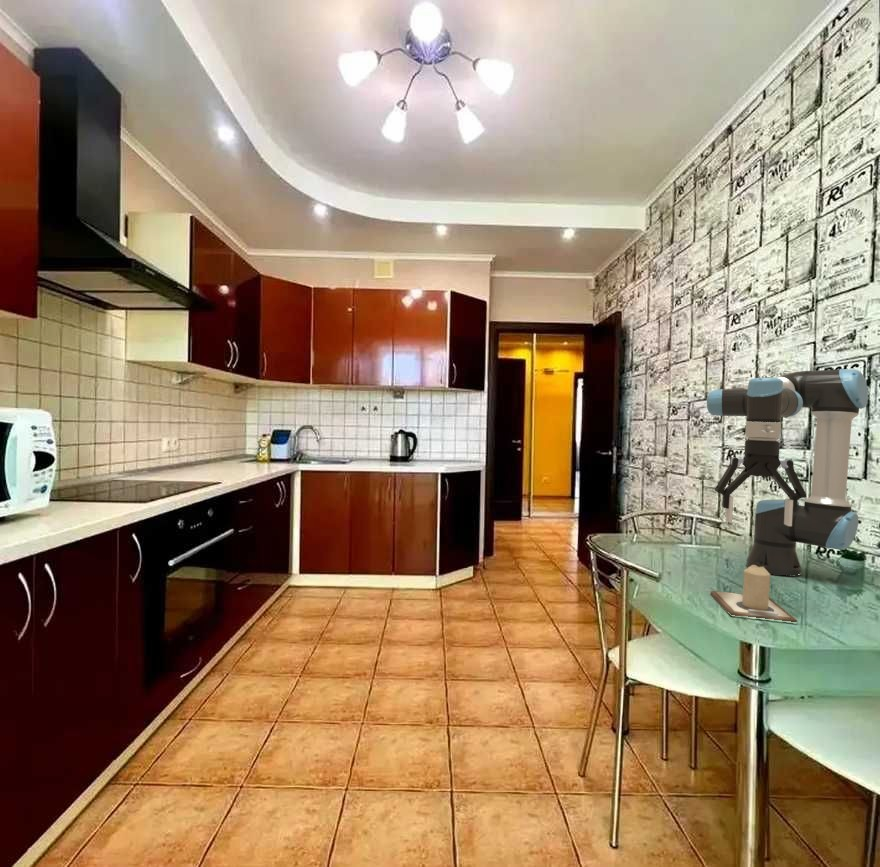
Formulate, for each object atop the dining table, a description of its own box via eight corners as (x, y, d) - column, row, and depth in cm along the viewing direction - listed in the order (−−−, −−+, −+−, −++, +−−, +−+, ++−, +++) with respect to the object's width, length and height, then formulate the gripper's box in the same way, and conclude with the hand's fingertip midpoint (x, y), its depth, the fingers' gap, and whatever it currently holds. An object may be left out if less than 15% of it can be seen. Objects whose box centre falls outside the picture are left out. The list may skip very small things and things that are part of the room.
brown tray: (767, 600, 142) (768, 592, 142) (797, 624, 125) (797, 616, 125) (710, 594, 145) (710, 586, 145) (730, 617, 128) (731, 608, 128)
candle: (737, 602, 135) (739, 563, 134) (758, 603, 135) (760, 563, 135) (751, 610, 129) (754, 569, 129) (773, 611, 130) (775, 569, 129)
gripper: (713, 438, 135) (708, 522, 135) (825, 442, 129) (820, 529, 130) (704, 437, 142) (700, 517, 143) (810, 440, 137) (806, 524, 137)
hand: (757, 523), depth 136 cm, fingers open, 13 cm apart
